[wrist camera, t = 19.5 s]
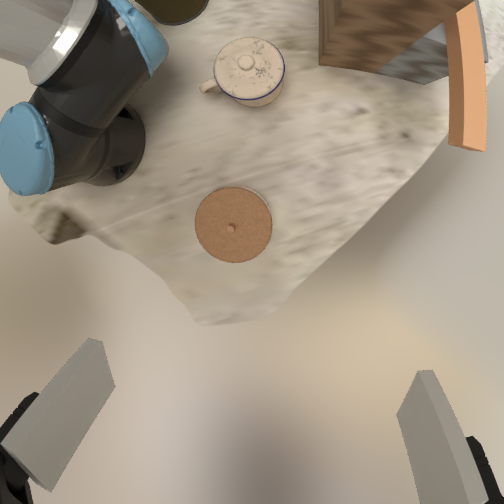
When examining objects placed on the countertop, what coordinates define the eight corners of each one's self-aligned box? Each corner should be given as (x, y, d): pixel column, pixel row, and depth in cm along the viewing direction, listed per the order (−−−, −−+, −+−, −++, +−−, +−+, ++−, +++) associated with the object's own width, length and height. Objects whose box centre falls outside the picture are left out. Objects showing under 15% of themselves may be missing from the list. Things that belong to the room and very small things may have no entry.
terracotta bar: (448, 144, 24) (463, 145, 21) (422, -67, 14) (430, -78, 11) (469, 150, 24) (485, 151, 21) (443, -59, 14) (452, -69, 11)
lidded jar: (225, 169, 46) (211, 174, 38) (286, 200, 47) (286, 213, 38) (197, 227, 50) (179, 245, 41) (255, 257, 51) (248, 280, 42)
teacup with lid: (274, 48, 39) (271, 20, 28) (292, 99, 42) (294, 84, 31) (201, 71, 41) (177, 51, 30) (217, 121, 44) (196, 114, 33)
